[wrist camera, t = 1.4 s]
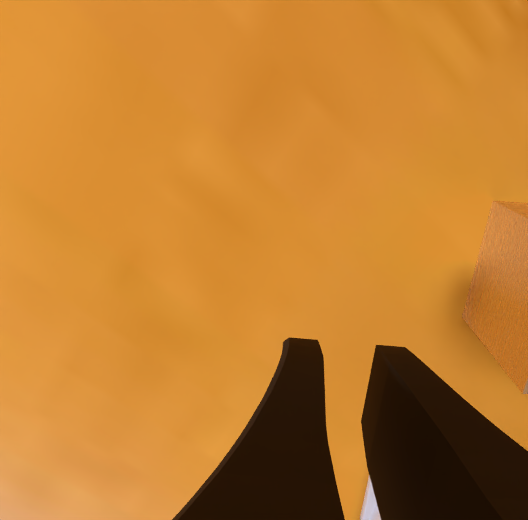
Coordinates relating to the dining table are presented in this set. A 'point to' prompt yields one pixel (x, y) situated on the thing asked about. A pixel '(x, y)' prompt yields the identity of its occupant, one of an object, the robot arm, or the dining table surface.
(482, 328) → the lock block
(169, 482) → the dining table surface
